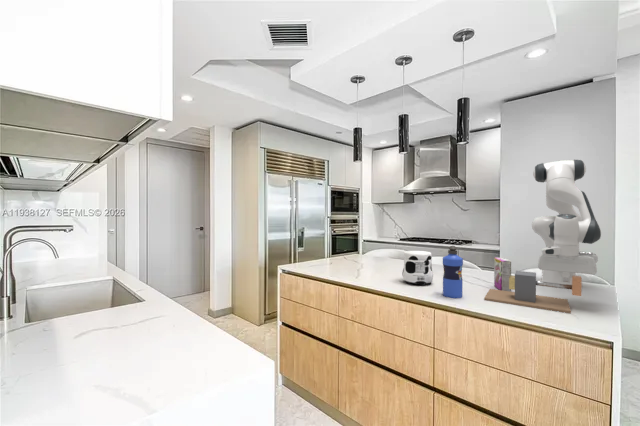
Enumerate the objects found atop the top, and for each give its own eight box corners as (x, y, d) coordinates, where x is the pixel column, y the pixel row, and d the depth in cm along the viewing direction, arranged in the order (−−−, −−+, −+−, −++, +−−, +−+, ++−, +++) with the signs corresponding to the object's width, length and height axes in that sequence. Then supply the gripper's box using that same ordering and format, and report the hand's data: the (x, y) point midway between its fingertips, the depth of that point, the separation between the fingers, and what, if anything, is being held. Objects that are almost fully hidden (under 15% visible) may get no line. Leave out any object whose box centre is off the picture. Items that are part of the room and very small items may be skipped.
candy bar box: (493, 286, 170) (493, 257, 170) (503, 286, 169) (503, 257, 169) (501, 291, 159) (501, 260, 159) (511, 292, 158) (511, 261, 158)
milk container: (415, 278, 191) (415, 249, 191) (439, 283, 177) (439, 252, 176) (396, 281, 182) (396, 251, 182) (419, 288, 167) (419, 255, 167)
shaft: (514, 285, 148) (514, 269, 148) (580, 294, 134) (580, 276, 133) (513, 287, 145) (514, 270, 145) (581, 296, 130) (581, 277, 130)
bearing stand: (489, 290, 161) (490, 266, 161) (567, 301, 143) (567, 273, 142) (484, 300, 145) (484, 272, 145) (570, 313, 126) (571, 282, 126)
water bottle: (439, 295, 152) (439, 246, 152) (446, 291, 159) (446, 244, 159) (459, 299, 146) (459, 247, 146) (465, 295, 153) (465, 245, 153)
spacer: (510, 286, 150) (510, 275, 150) (515, 287, 148) (515, 275, 148) (509, 289, 145) (509, 277, 145) (515, 289, 144) (515, 278, 144)
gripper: (596, 251, 131) (596, 283, 131) (538, 248, 143) (538, 277, 144) (598, 253, 126) (598, 286, 126) (538, 249, 138) (537, 280, 138)
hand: (565, 281), depth 135 cm, fingers closed
